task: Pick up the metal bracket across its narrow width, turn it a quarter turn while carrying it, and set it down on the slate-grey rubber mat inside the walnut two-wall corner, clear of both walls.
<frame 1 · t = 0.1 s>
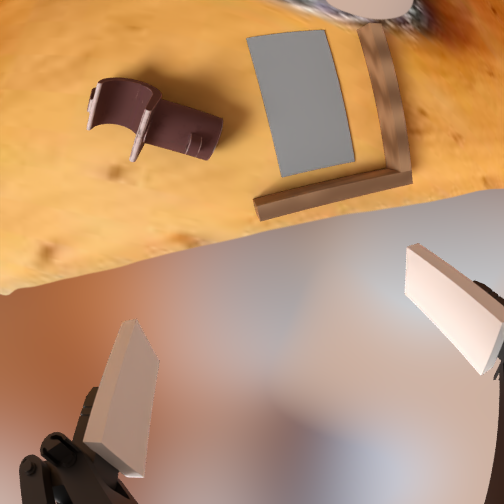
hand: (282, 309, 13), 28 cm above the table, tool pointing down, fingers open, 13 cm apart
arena: (312, 104, 35), on the table
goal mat: (304, 98, 34), on the table
bracket: (153, 121, 33), on the table
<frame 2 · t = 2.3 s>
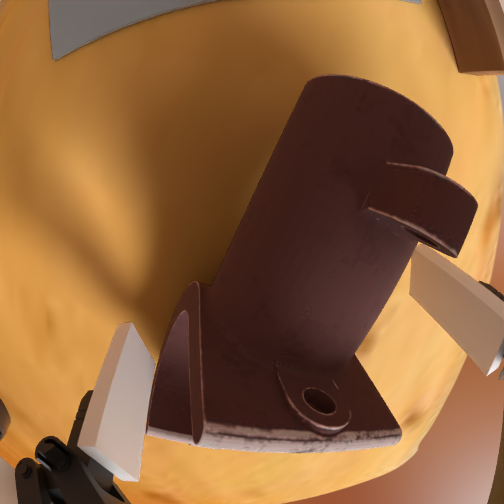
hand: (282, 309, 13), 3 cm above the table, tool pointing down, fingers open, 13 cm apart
bracket: (290, 286, 15), point 1 cm above the table, touching gripper
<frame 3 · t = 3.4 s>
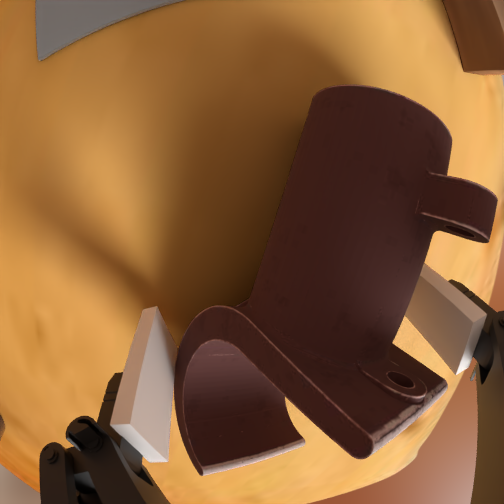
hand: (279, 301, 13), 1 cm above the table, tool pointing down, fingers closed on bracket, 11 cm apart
bracket: (287, 285, 15), on the table, touching gripper
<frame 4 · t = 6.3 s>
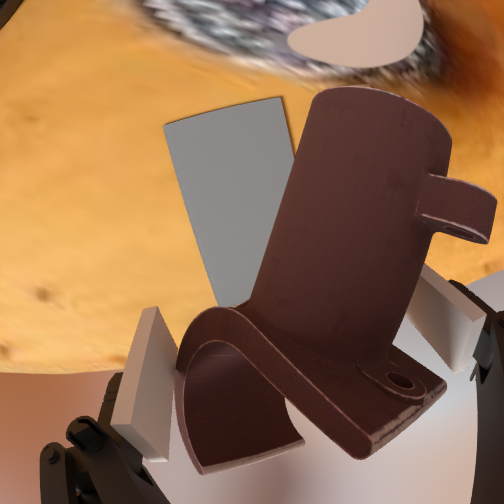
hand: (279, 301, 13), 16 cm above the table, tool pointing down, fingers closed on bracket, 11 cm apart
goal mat: (246, 210, 28), on the table
bracket: (287, 285, 15), point 15 cm above the table, touching gripper
when the fingers open (3 cm above the table, at t = 9.7 s): bracket drops 2 cm, resting on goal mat.
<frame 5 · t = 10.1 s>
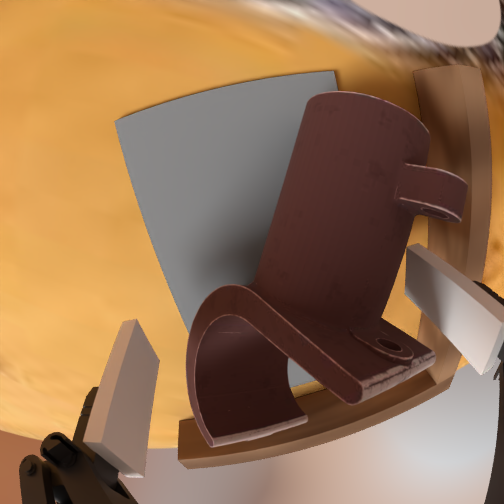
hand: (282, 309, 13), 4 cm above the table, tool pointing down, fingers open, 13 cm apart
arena: (288, 282, 17), on the table
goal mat: (268, 271, 16), on the table
bracket: (288, 270, 16), resting on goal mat
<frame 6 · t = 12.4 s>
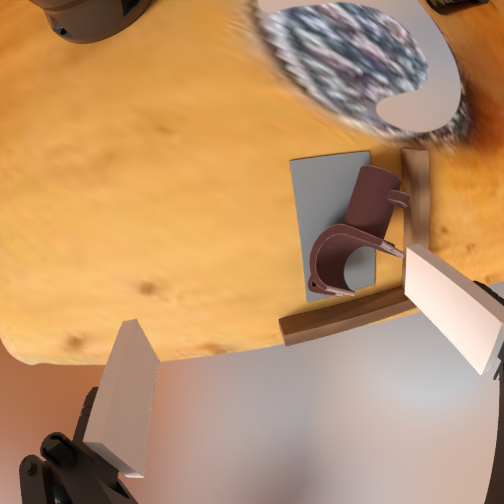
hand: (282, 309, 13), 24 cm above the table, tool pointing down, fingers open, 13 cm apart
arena: (345, 234, 38), on the table
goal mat: (338, 229, 38), on the table
supplement container: (435, 0, 25), on the table
bracket: (345, 228, 38), resting on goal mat
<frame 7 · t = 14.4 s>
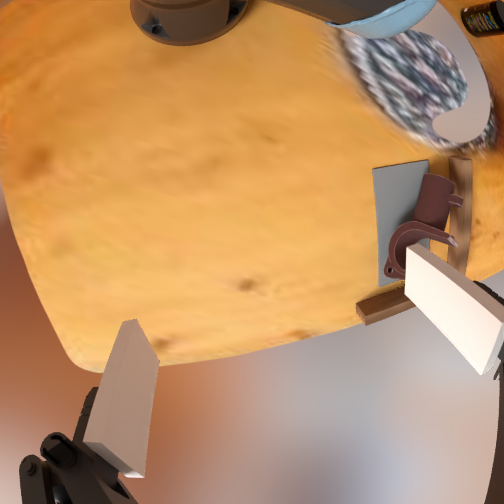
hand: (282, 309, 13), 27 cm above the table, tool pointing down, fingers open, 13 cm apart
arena: (409, 229, 43), on the table
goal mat: (405, 224, 42), on the table
supplement container: (469, 23, 28), on the table
bracket: (409, 223, 42), resting on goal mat
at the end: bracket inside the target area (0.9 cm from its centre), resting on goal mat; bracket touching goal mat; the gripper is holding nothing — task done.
